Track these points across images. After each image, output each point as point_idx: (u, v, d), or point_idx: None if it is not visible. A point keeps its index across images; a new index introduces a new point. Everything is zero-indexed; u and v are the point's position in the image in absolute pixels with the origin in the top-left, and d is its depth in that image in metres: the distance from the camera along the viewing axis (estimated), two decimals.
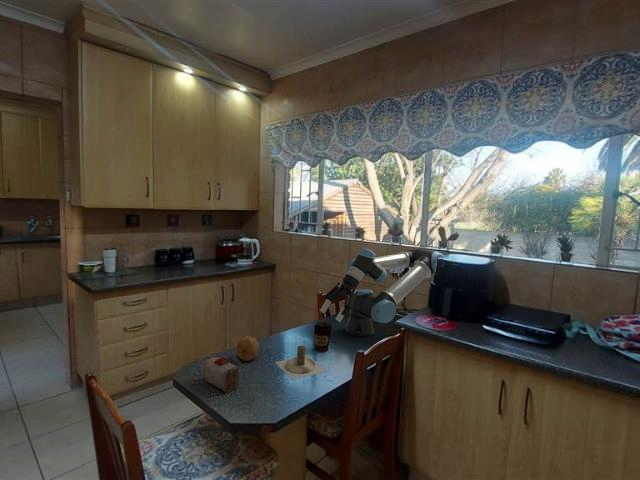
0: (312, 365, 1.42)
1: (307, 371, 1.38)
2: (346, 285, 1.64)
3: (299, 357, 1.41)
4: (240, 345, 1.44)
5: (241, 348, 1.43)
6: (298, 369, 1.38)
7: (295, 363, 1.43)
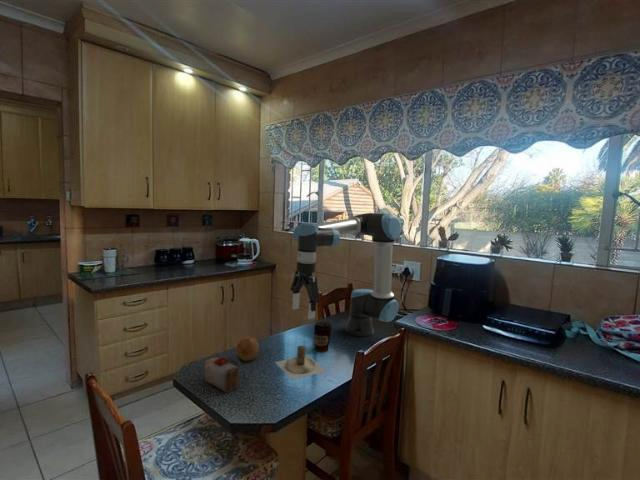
0: (312, 365, 1.42)
1: (307, 371, 1.38)
2: (303, 274, 1.39)
3: (299, 357, 1.41)
4: (240, 345, 1.44)
5: (241, 348, 1.43)
6: (298, 369, 1.38)
7: (295, 363, 1.43)
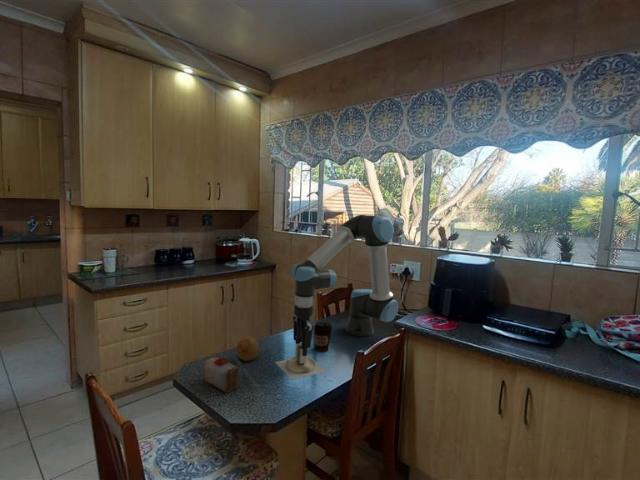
0: (312, 364, 1.42)
1: (307, 370, 1.38)
2: (300, 317, 1.40)
3: (299, 357, 1.41)
4: (240, 345, 1.44)
5: (241, 348, 1.43)
6: (298, 369, 1.38)
7: (295, 363, 1.43)
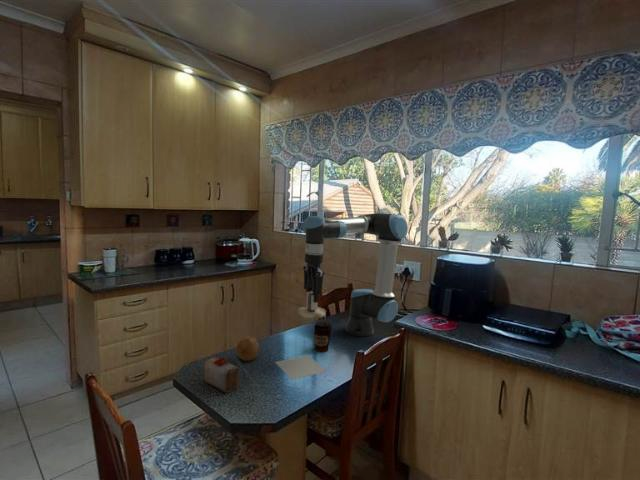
0: (323, 311, 1.46)
1: (319, 316, 1.42)
2: (311, 265, 1.44)
3: (310, 304, 1.45)
4: (240, 345, 1.44)
5: (241, 348, 1.43)
6: (310, 314, 1.42)
7: (306, 310, 1.47)
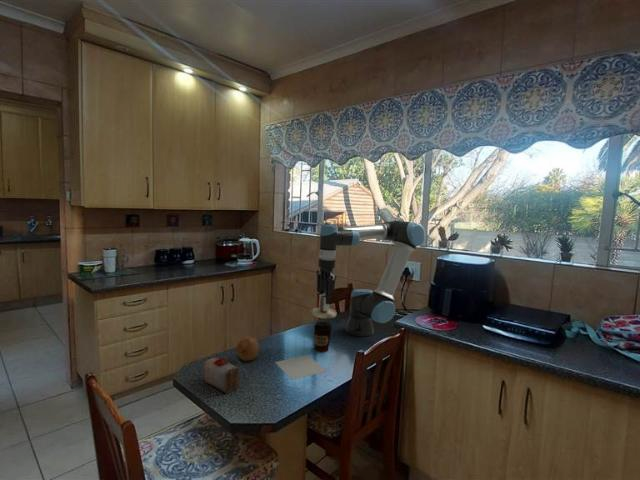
0: (334, 312, 1.59)
1: (330, 316, 1.54)
2: (324, 269, 1.57)
3: (323, 305, 1.58)
4: (240, 345, 1.44)
5: (241, 348, 1.43)
6: (322, 315, 1.54)
7: (319, 311, 1.59)
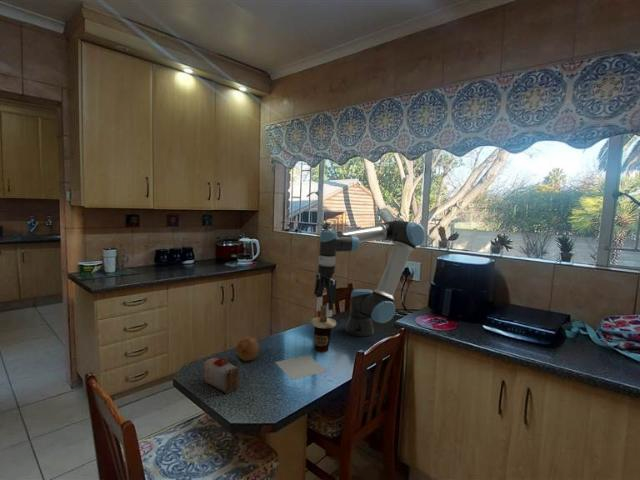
0: (334, 322, 1.59)
1: (330, 326, 1.55)
2: (324, 275, 1.57)
3: (322, 315, 1.58)
4: (240, 345, 1.44)
5: (241, 348, 1.43)
6: (322, 324, 1.55)
7: (318, 320, 1.60)
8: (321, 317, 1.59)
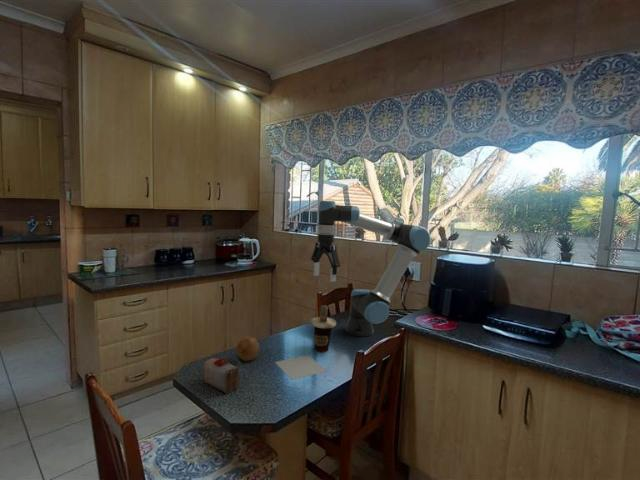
0: (334, 322, 1.59)
1: (330, 326, 1.55)
2: (323, 244, 1.62)
3: (322, 315, 1.58)
4: (240, 345, 1.44)
5: (241, 348, 1.43)
6: (322, 324, 1.55)
7: (318, 320, 1.60)
8: (321, 317, 1.59)
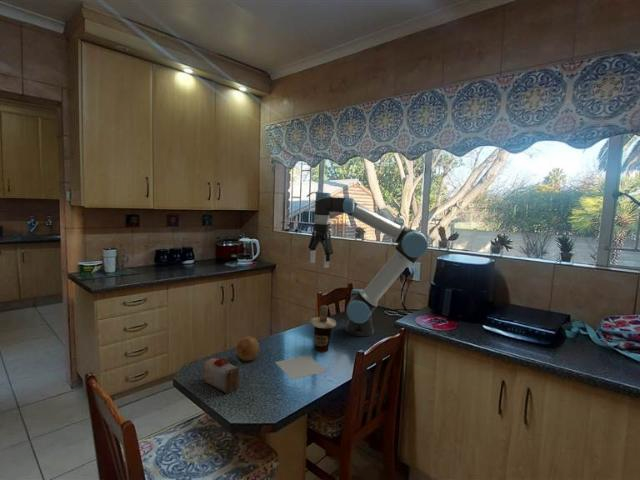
0: (334, 322, 1.59)
1: (330, 326, 1.55)
2: (319, 233, 1.74)
3: (322, 315, 1.58)
4: (240, 345, 1.44)
5: (241, 348, 1.43)
6: (322, 324, 1.55)
7: (318, 320, 1.60)
8: (321, 317, 1.59)
